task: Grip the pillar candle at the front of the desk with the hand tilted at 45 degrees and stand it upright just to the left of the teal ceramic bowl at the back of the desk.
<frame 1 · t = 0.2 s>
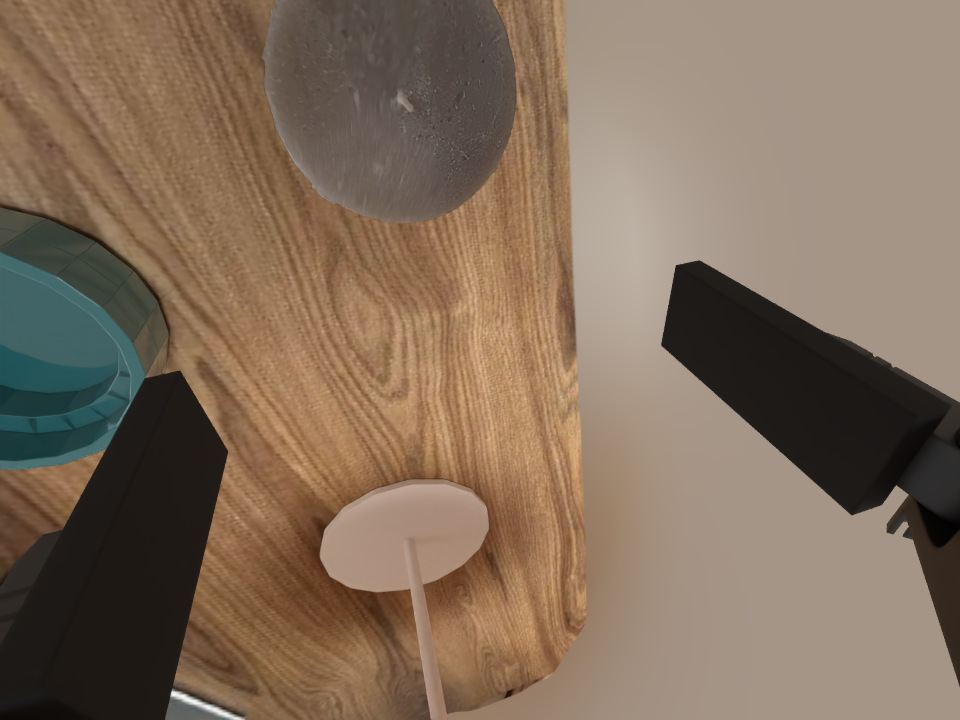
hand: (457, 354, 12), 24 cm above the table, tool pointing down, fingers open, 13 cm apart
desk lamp: (408, 535, 55), on the table
pillar candle: (370, 78, 28), on the table
bowl: (33, 320, 30), on the table
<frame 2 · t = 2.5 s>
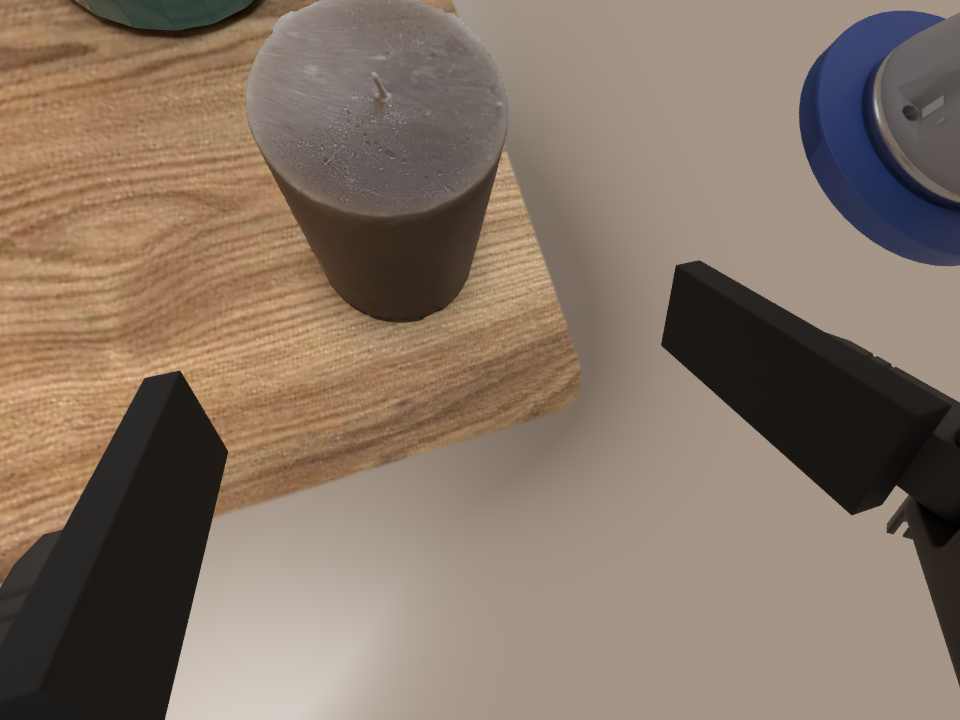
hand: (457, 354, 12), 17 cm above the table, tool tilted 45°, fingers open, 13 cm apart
pillar candle: (398, 252, 30), on the table
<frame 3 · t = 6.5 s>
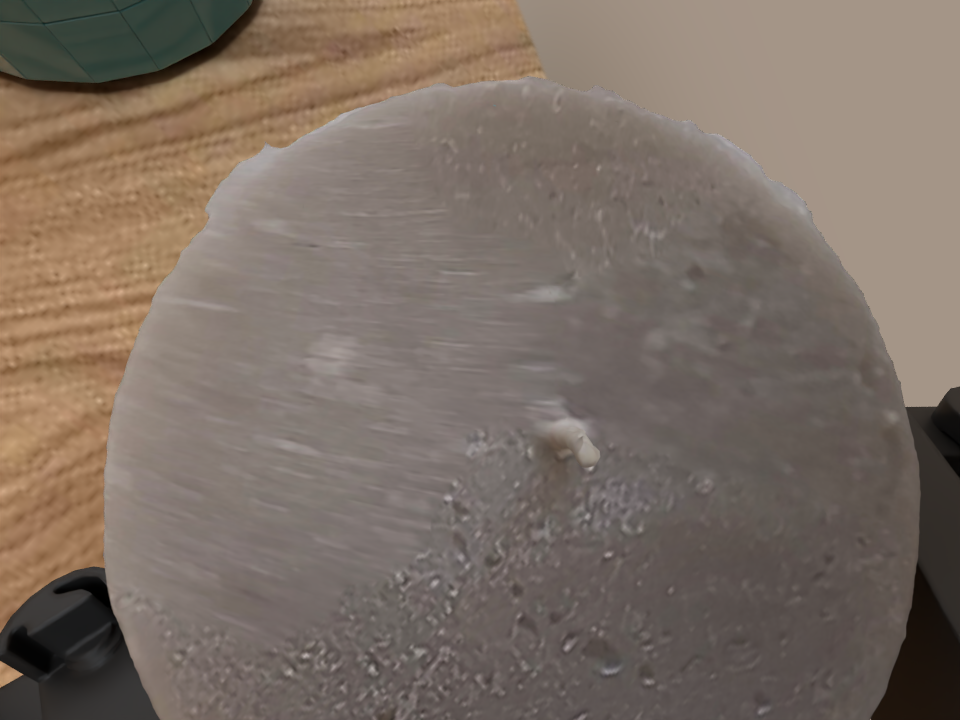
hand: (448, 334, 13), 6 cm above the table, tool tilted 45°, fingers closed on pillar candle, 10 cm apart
pillar candle: (457, 440, 19), on the table, touching gripper
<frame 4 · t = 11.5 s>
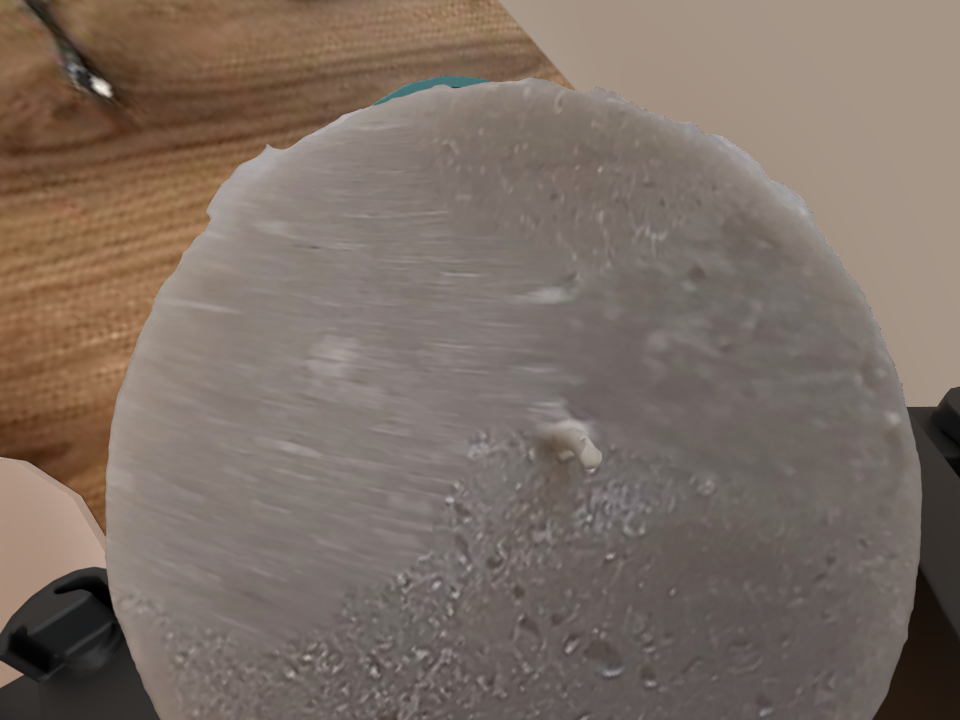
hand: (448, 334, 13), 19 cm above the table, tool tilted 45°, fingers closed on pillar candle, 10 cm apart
pillar candle: (457, 441, 19), point 13 cm above the table, touching gripper
bowl: (458, 228, 34), on the table
when the fingers open (6 cm above the table, at t = 16.6 s): pillar candle stays where it is, on the table.
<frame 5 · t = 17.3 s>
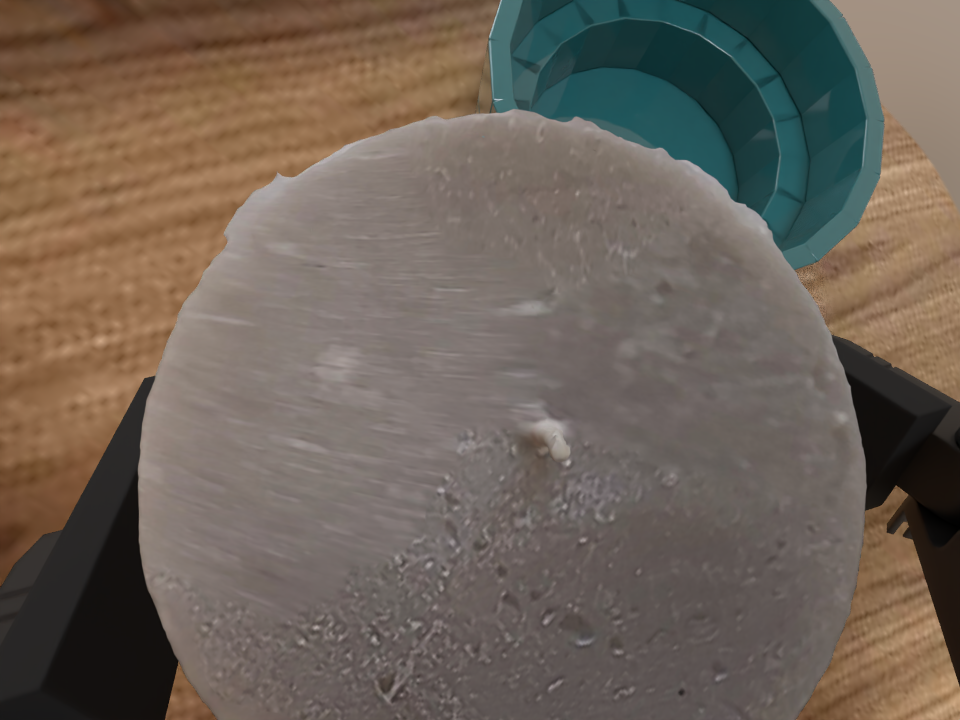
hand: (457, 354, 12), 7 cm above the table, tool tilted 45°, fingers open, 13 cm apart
pillar candle: (454, 440, 19), on the table
bowl: (625, 175, 23), on the table
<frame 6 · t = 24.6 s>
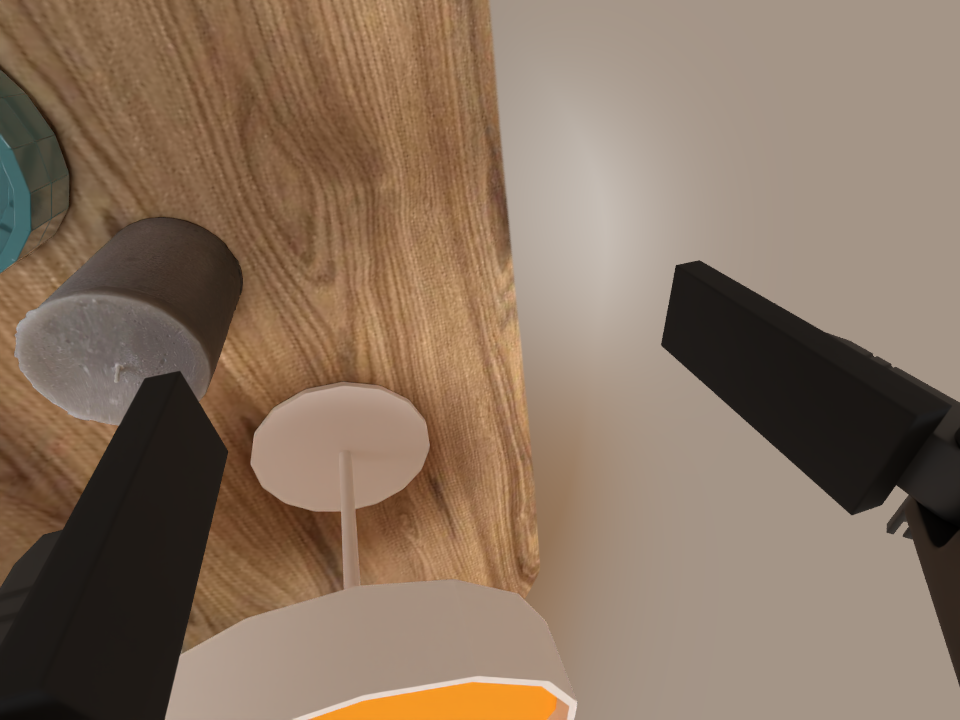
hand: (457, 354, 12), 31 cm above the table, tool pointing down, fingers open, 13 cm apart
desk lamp: (345, 449, 54), on the table
pillar candle: (178, 273, 38), on the table
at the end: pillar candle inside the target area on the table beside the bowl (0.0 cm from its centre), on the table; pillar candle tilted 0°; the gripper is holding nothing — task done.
